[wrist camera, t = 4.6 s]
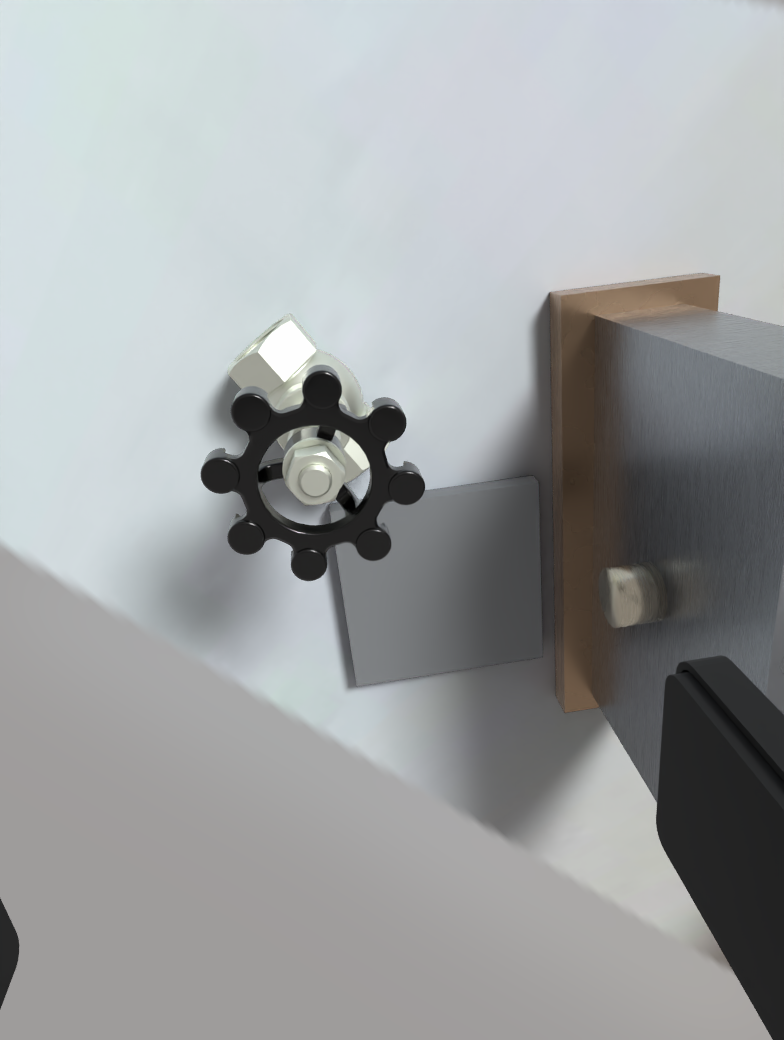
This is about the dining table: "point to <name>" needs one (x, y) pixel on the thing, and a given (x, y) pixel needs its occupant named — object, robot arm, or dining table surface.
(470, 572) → the parts mat
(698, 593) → the box
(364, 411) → the valve
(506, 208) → the dining table surface
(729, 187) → the dining table surface
